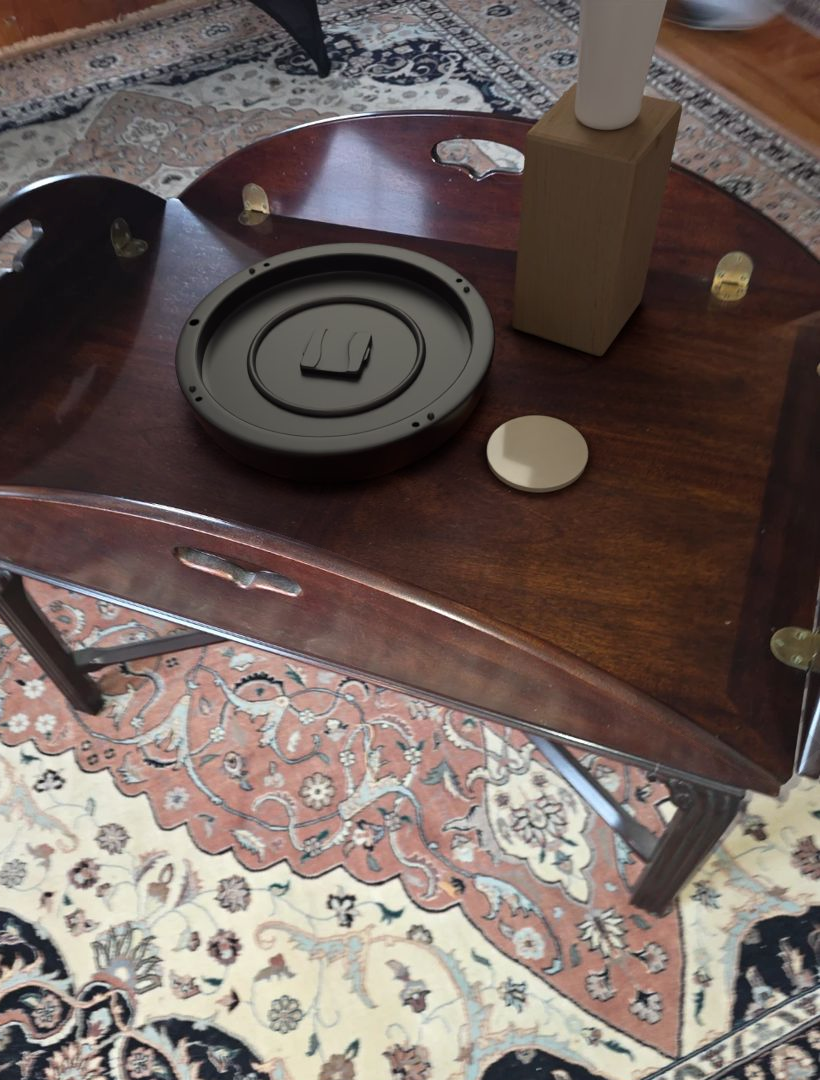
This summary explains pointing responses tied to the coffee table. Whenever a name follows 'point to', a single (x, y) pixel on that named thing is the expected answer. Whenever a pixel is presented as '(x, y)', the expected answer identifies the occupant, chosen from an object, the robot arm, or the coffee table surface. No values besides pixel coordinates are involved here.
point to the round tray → (336, 360)
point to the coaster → (537, 453)
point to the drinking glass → (614, 59)
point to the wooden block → (589, 221)
